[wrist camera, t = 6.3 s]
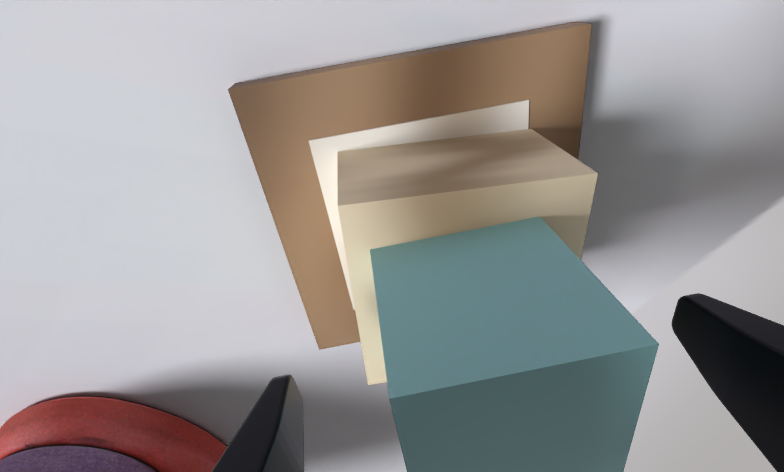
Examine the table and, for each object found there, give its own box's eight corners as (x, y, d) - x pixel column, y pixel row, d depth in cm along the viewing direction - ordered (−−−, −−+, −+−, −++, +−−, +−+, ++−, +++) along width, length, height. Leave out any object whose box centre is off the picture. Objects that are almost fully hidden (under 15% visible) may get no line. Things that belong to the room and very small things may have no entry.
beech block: (531, 128, 13) (598, 173, 10) (515, 282, 17) (561, 355, 13) (337, 151, 13) (337, 205, 10) (361, 304, 16) (367, 384, 13)
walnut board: (574, 22, 13) (592, 23, 12) (553, 287, 19) (564, 302, 18) (235, 83, 13) (227, 89, 12) (320, 333, 18) (319, 350, 17)
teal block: (539, 216, 10) (658, 343, 7) (534, 338, 13) (619, 486, 9) (369, 249, 10) (389, 398, 6) (395, 366, 13) (420, 527, 9)
